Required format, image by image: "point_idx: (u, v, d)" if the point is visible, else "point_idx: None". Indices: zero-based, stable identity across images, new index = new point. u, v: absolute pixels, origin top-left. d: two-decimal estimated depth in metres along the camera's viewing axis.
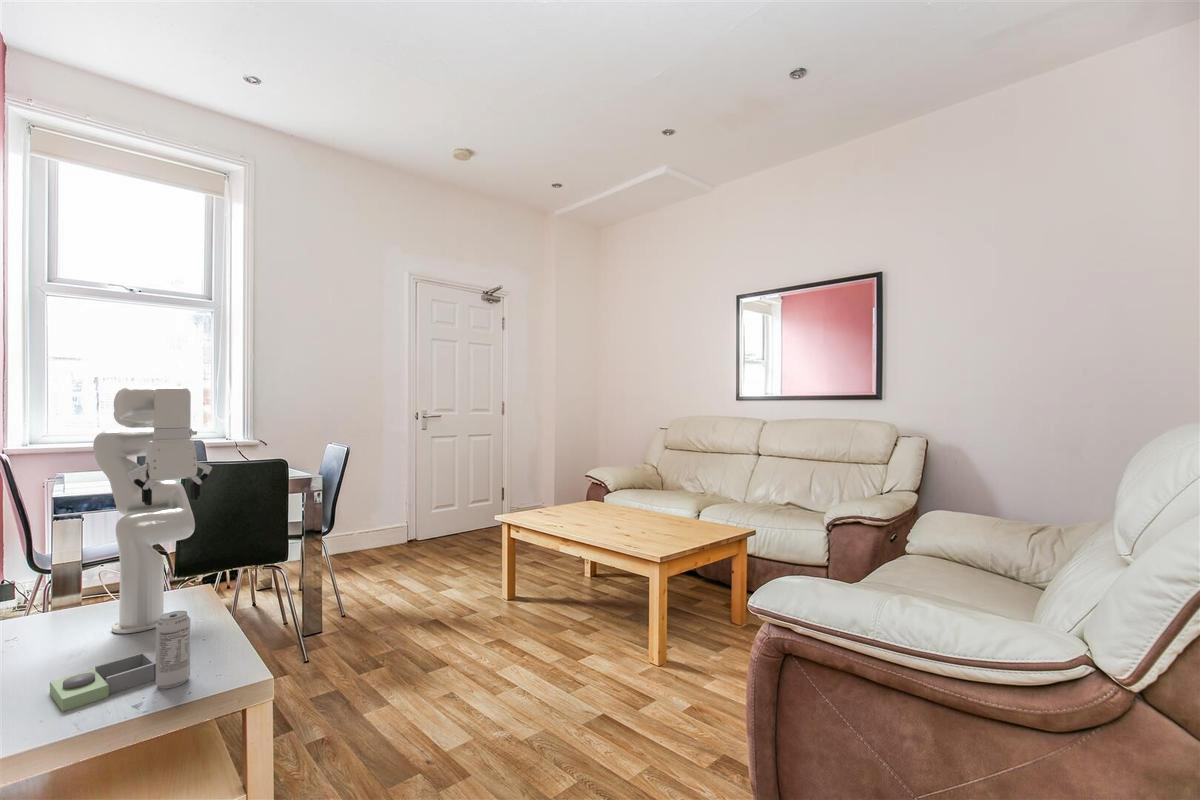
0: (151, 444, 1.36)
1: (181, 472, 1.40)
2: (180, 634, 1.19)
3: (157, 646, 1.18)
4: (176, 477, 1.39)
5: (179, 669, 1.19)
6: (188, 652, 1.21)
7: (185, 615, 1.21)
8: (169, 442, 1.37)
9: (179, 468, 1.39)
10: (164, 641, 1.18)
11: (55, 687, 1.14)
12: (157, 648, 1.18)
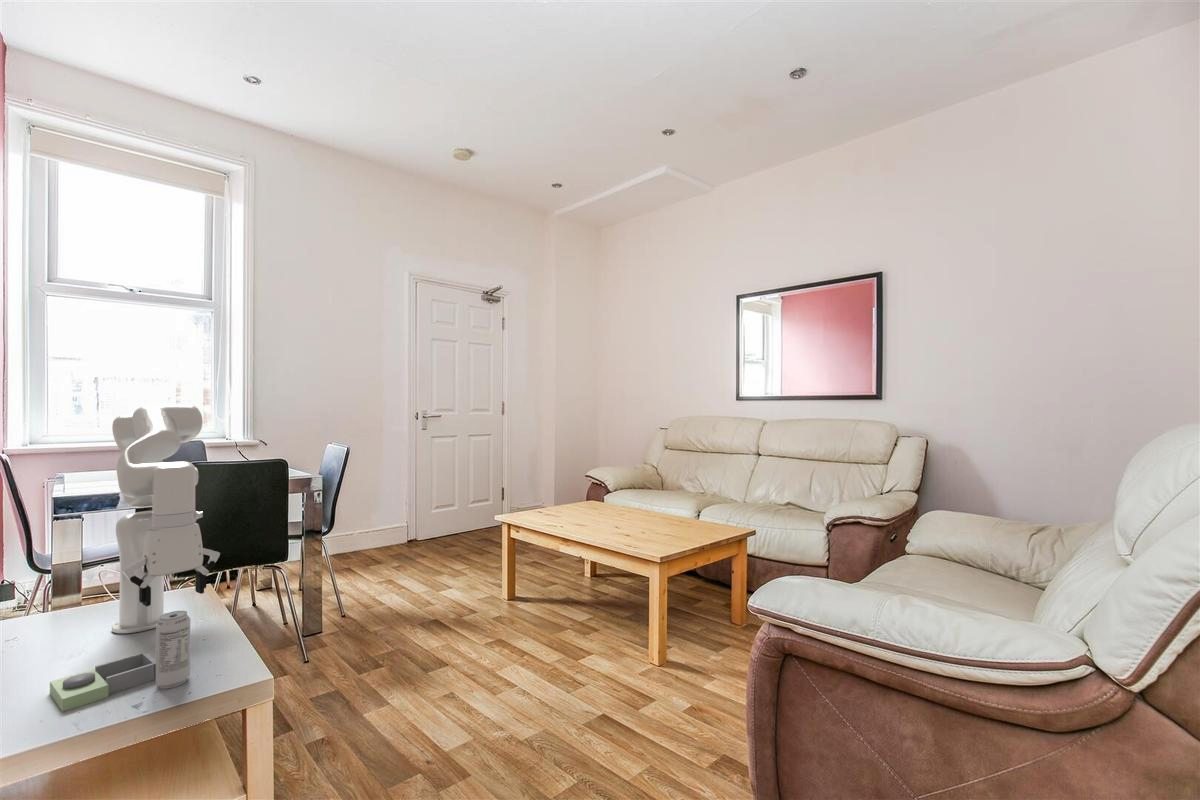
0: (149, 533, 1.17)
1: (185, 564, 1.21)
2: (180, 634, 1.19)
3: (157, 646, 1.18)
4: (179, 570, 1.20)
5: (179, 669, 1.19)
6: (188, 652, 1.21)
7: (185, 615, 1.21)
8: (171, 530, 1.19)
9: (182, 559, 1.20)
10: (164, 641, 1.18)
11: (55, 687, 1.14)
12: (157, 648, 1.18)
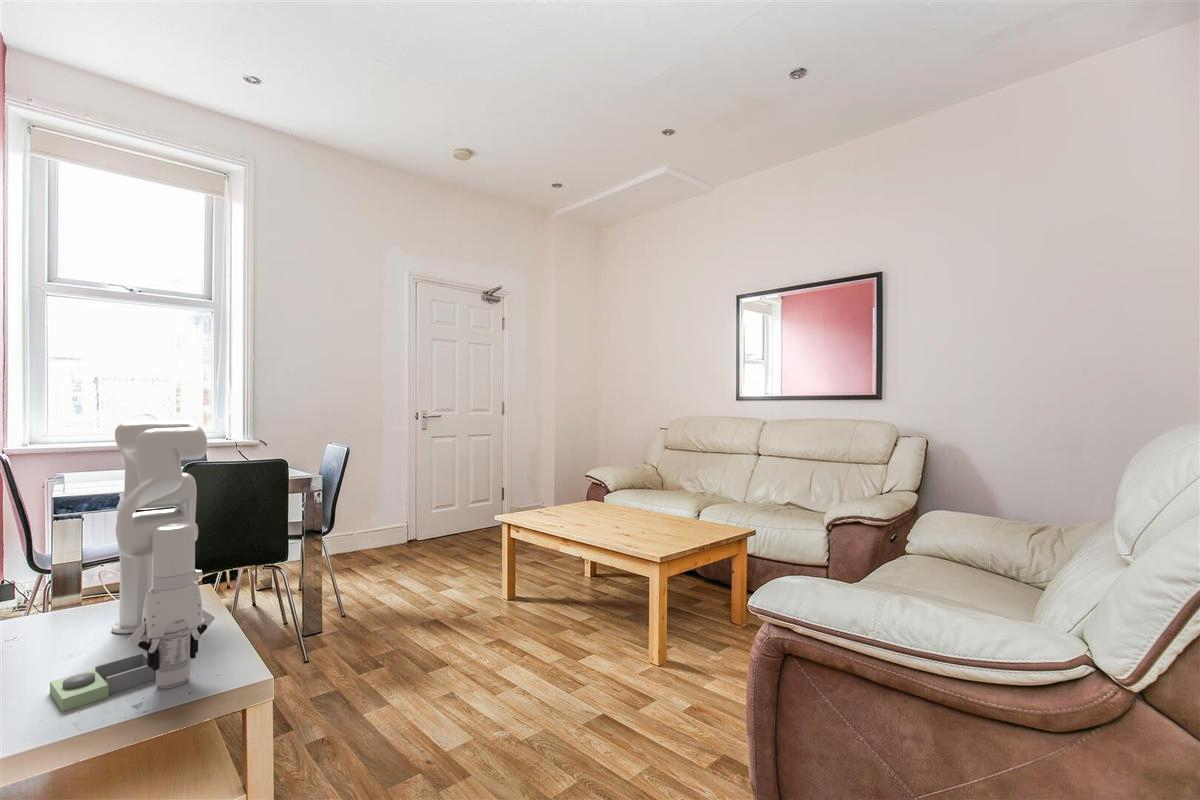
0: (149, 596, 1.17)
1: None
2: (181, 634, 1.19)
3: (157, 646, 1.18)
4: None
5: (179, 669, 1.19)
6: (188, 652, 1.21)
7: None
8: (170, 592, 1.18)
9: None
10: (164, 641, 1.18)
11: (55, 687, 1.14)
12: (157, 648, 1.18)
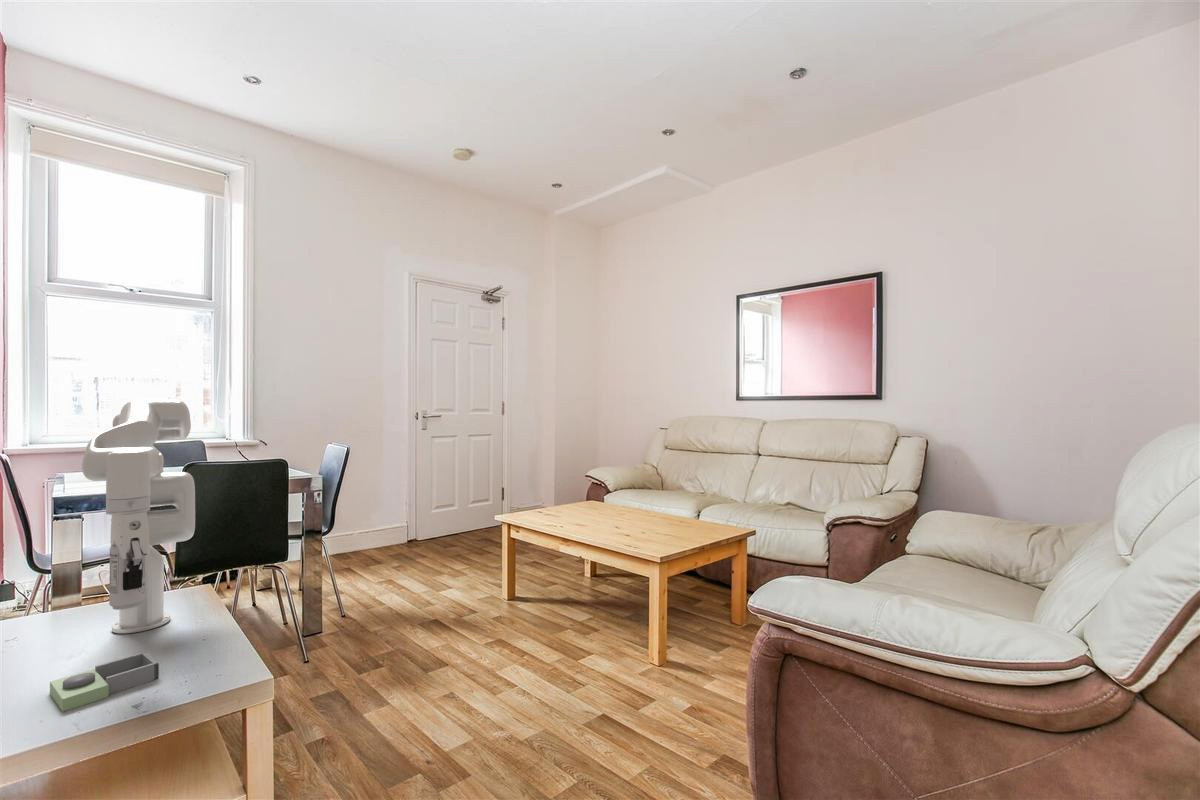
0: None
1: None
2: (111, 559, 1.20)
3: None
4: None
5: (110, 593, 1.20)
6: (118, 581, 1.19)
7: None
8: None
9: None
10: None
11: (55, 687, 1.14)
12: None
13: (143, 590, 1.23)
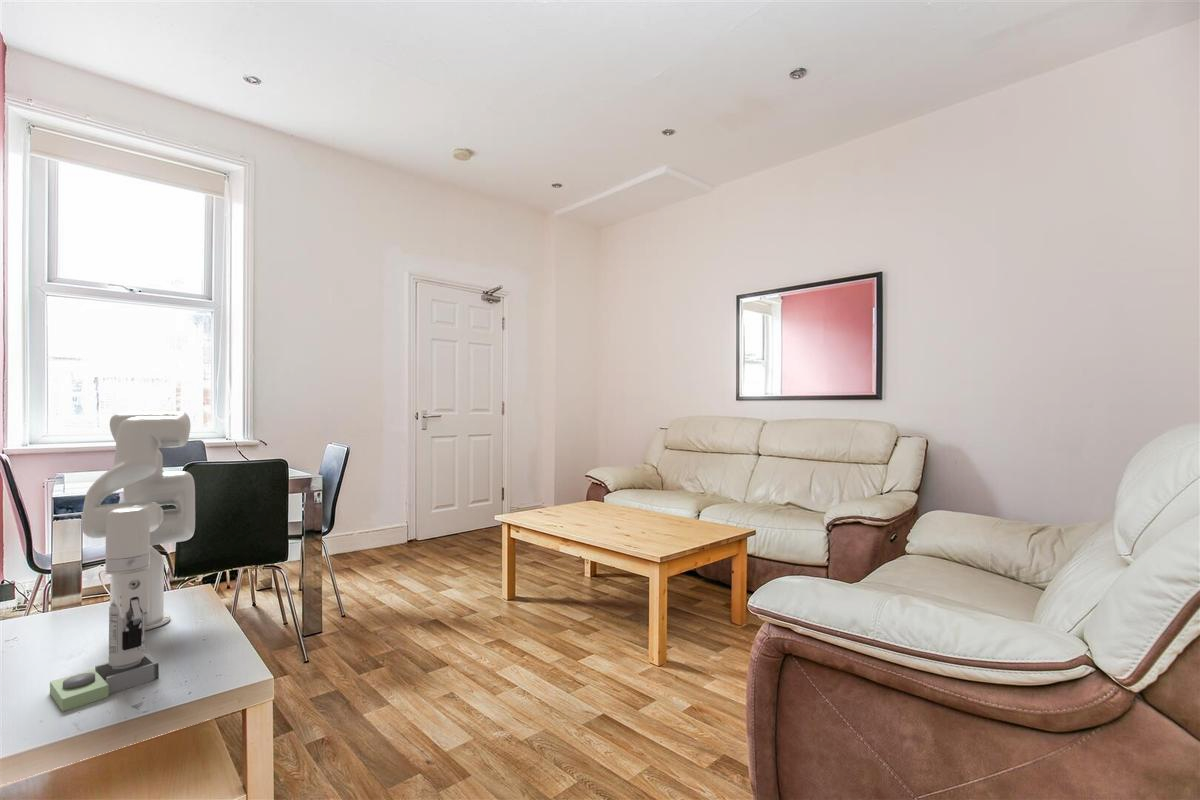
0: None
1: None
2: (110, 618, 1.19)
3: None
4: None
5: (109, 652, 1.19)
6: (118, 640, 1.19)
7: None
8: None
9: None
10: None
11: (55, 687, 1.14)
12: None
13: (142, 648, 1.23)
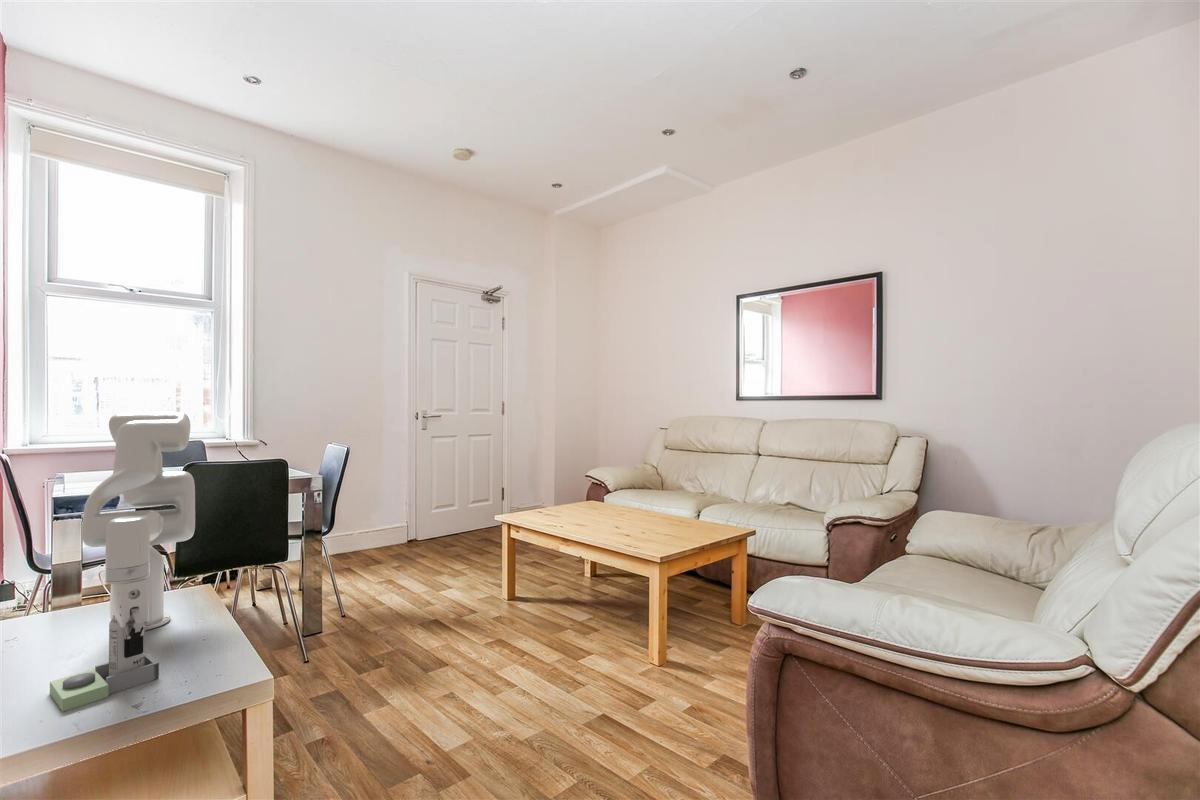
0: None
1: (116, 619, 1.20)
2: (110, 634, 1.20)
3: None
4: None
5: (109, 669, 1.20)
6: (118, 656, 1.19)
7: None
8: None
9: (115, 614, 1.20)
10: None
11: (55, 687, 1.14)
12: None
13: (142, 664, 1.23)
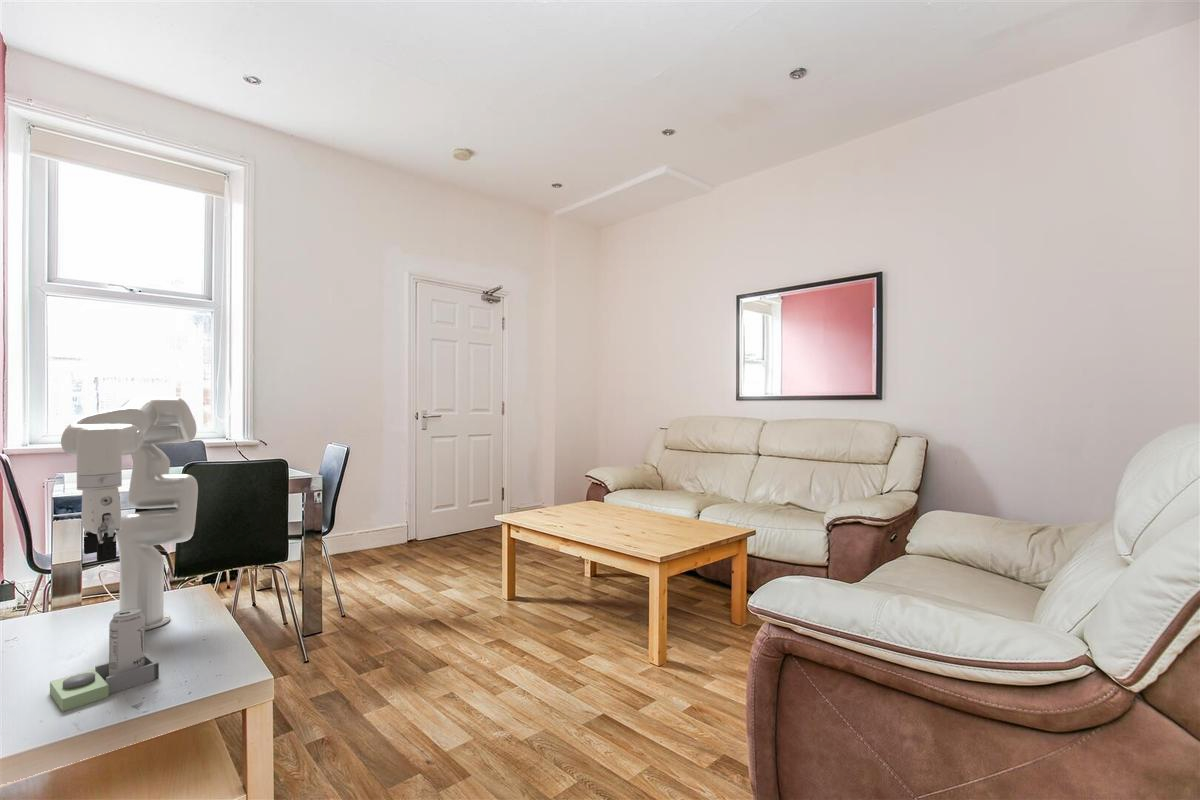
0: None
1: (88, 525, 1.21)
2: (110, 634, 1.20)
3: None
4: (88, 530, 1.22)
5: (109, 669, 1.20)
6: (118, 656, 1.19)
7: (120, 617, 1.20)
8: (83, 489, 1.22)
9: (87, 520, 1.21)
10: None
11: (55, 687, 1.14)
12: None
13: (142, 664, 1.23)
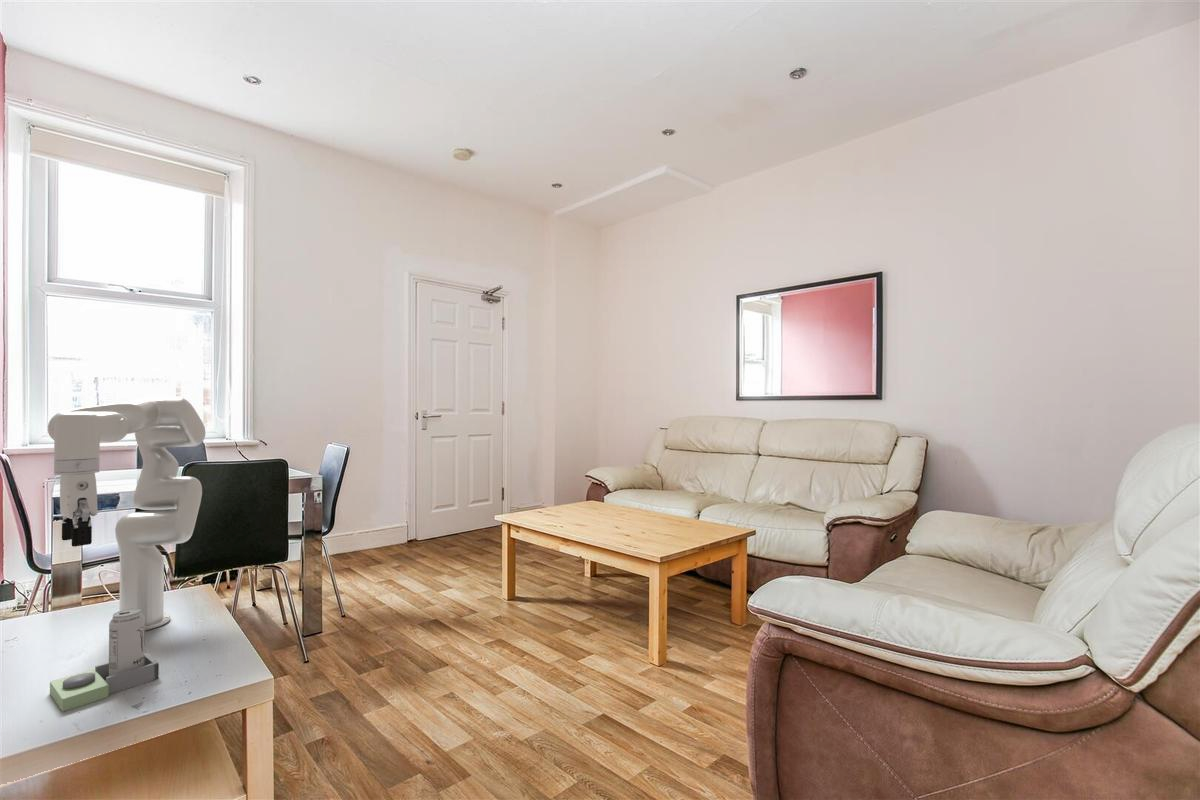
0: None
1: (64, 510, 1.22)
2: (110, 634, 1.20)
3: None
4: (65, 515, 1.23)
5: (109, 669, 1.20)
6: (118, 656, 1.19)
7: (120, 617, 1.20)
8: None
9: (63, 506, 1.22)
10: None
11: (55, 687, 1.14)
12: None
13: (142, 664, 1.23)
